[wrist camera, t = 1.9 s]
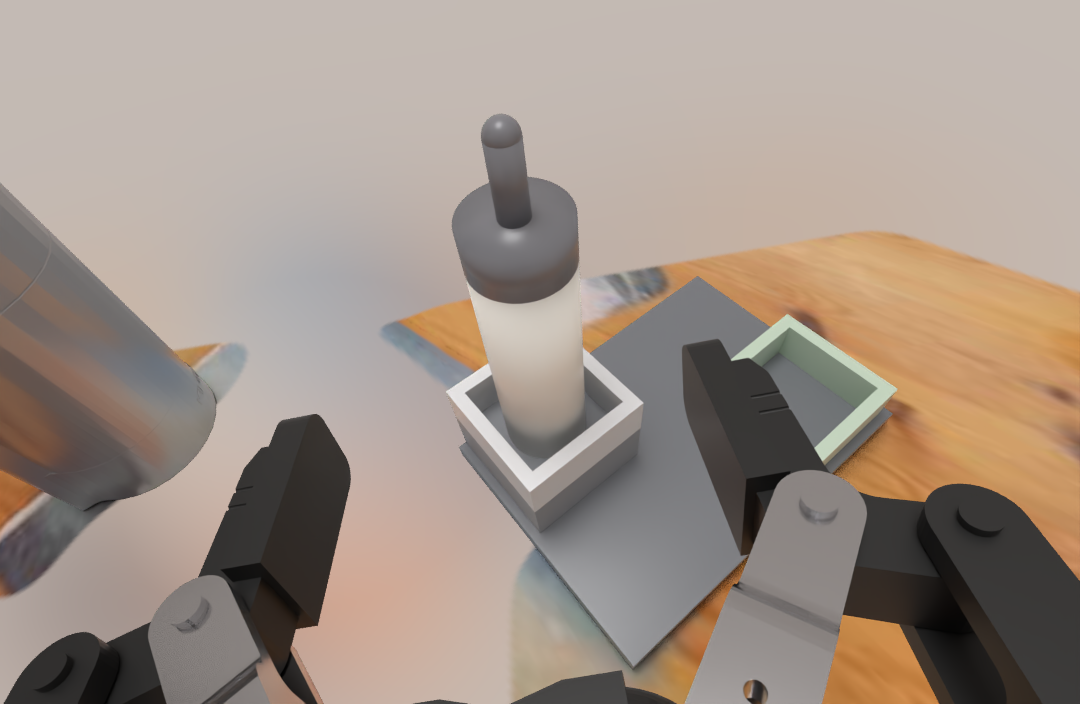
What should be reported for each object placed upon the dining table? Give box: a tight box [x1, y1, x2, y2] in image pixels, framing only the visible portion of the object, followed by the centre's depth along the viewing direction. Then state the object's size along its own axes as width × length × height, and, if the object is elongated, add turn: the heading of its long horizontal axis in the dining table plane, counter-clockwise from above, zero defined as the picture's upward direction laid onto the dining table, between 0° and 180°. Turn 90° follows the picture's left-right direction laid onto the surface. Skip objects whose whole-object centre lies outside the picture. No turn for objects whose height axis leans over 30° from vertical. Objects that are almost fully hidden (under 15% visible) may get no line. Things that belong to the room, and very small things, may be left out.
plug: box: [452, 114, 586, 458], centre depth 23 cm, size 4×4×18 cm
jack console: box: [446, 276, 898, 669], centre depth 31 cm, size 20×14×6 cm
